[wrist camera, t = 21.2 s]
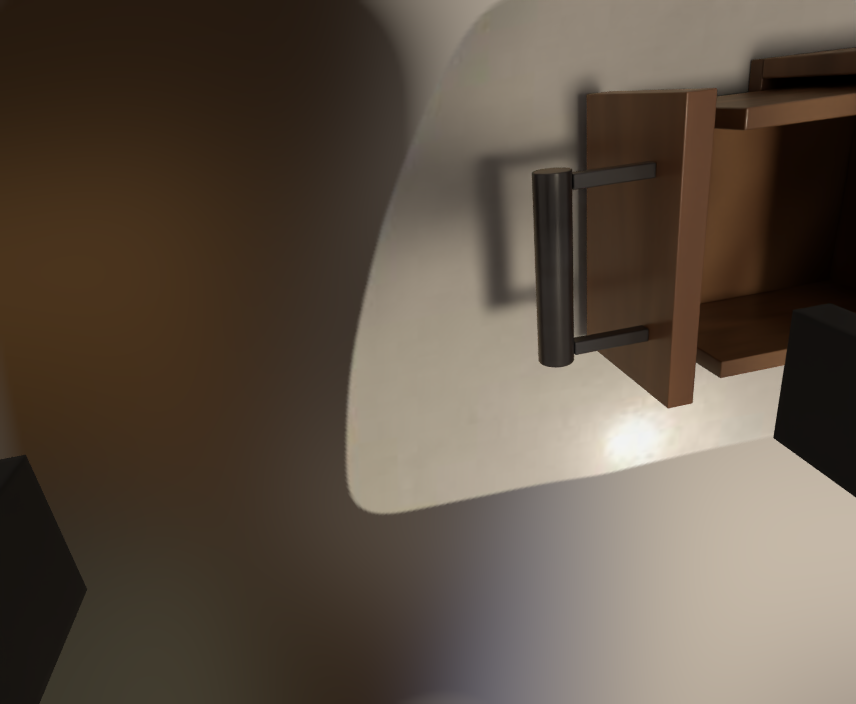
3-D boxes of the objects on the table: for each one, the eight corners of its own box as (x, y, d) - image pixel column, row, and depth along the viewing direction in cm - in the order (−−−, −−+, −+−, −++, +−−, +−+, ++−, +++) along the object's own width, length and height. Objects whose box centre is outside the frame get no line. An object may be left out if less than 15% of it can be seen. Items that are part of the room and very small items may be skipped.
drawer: (500, 359, 32) (559, 431, 25) (483, 106, 27) (552, 108, 20) (820, 298, 35) (954, 348, 28) (859, 60, 30) (1035, 47, 23)
